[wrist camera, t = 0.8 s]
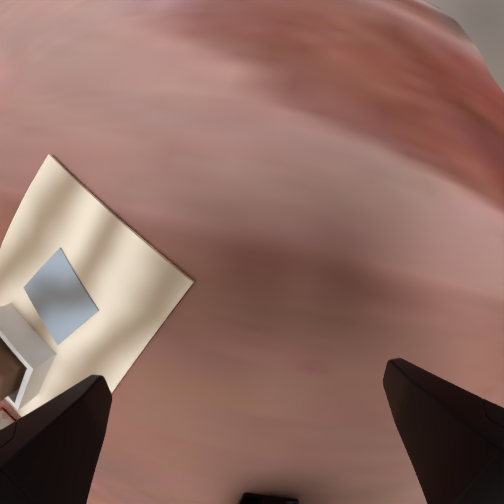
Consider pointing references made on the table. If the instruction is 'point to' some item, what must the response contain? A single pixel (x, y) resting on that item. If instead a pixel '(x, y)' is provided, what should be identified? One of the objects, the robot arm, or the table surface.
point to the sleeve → (25, 354)
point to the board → (83, 282)
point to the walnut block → (9, 371)
